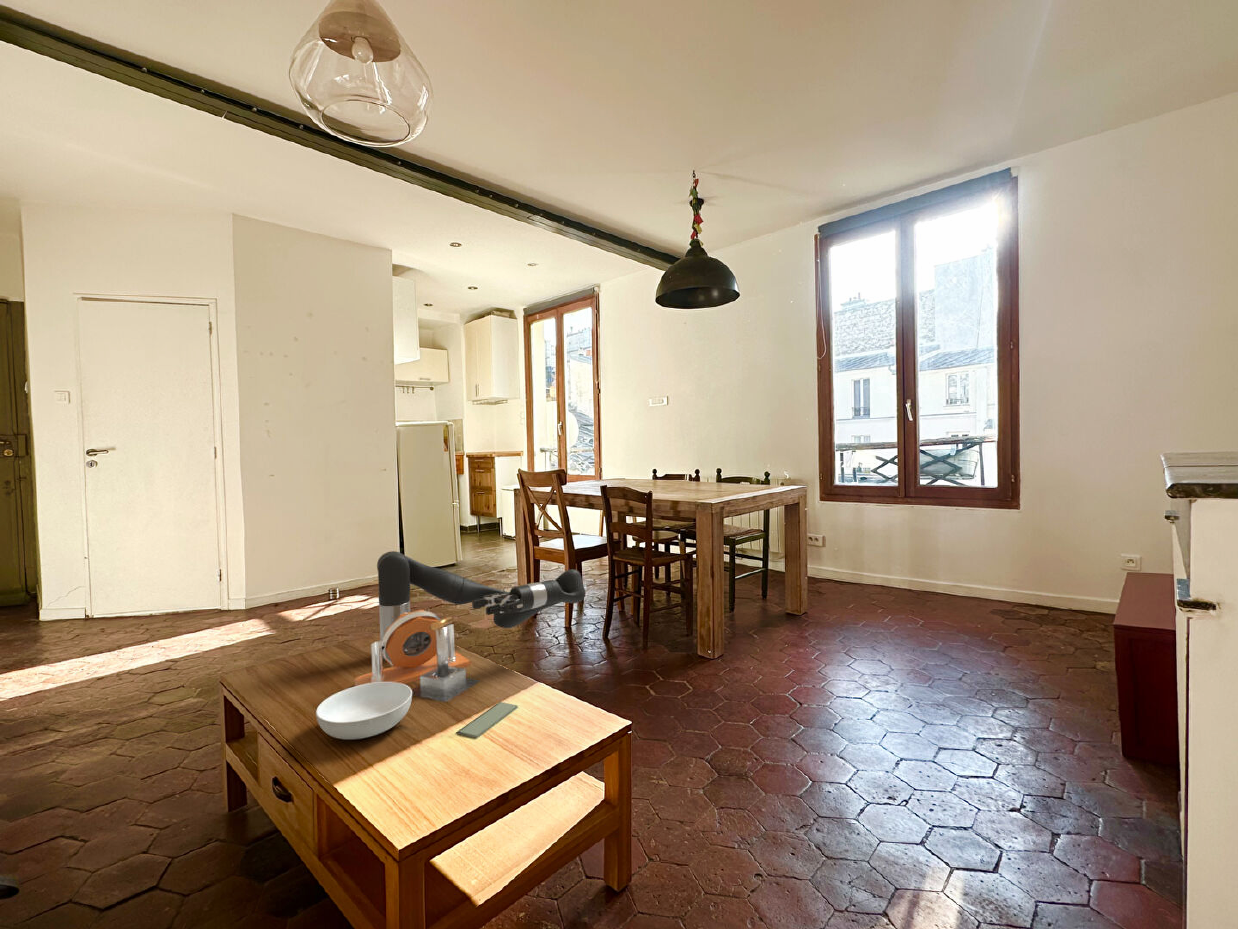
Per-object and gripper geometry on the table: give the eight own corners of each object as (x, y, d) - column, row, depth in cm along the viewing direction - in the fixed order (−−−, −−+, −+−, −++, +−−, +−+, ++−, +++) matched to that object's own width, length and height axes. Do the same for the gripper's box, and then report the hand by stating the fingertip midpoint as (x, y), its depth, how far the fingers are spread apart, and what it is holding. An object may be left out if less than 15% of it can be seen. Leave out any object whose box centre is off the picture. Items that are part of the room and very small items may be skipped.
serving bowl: (323, 717, 141) (322, 690, 140) (412, 702, 148) (411, 676, 148) (310, 760, 121) (308, 729, 121) (413, 740, 129) (412, 710, 128)
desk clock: (471, 669, 169) (468, 603, 168) (365, 700, 150) (362, 625, 149) (455, 658, 178) (452, 595, 177) (353, 685, 159) (350, 615, 159)
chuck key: (446, 680, 158) (443, 615, 158) (458, 683, 156) (456, 617, 156) (428, 690, 152) (425, 623, 151) (440, 693, 150) (438, 624, 149)
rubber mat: (467, 697, 150) (467, 695, 150) (517, 707, 143) (517, 705, 143) (423, 725, 135) (423, 723, 135) (476, 738, 128) (476, 735, 128)
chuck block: (441, 676, 164) (441, 659, 163) (480, 684, 158) (480, 666, 157) (405, 697, 151) (404, 678, 151) (445, 705, 145) (445, 686, 145)
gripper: (541, 613, 166) (491, 626, 155) (517, 604, 177) (468, 615, 166) (540, 588, 166) (490, 599, 155) (516, 580, 176) (467, 590, 166)
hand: (479, 608), depth 161 cm, fingers open, 8 cm apart
